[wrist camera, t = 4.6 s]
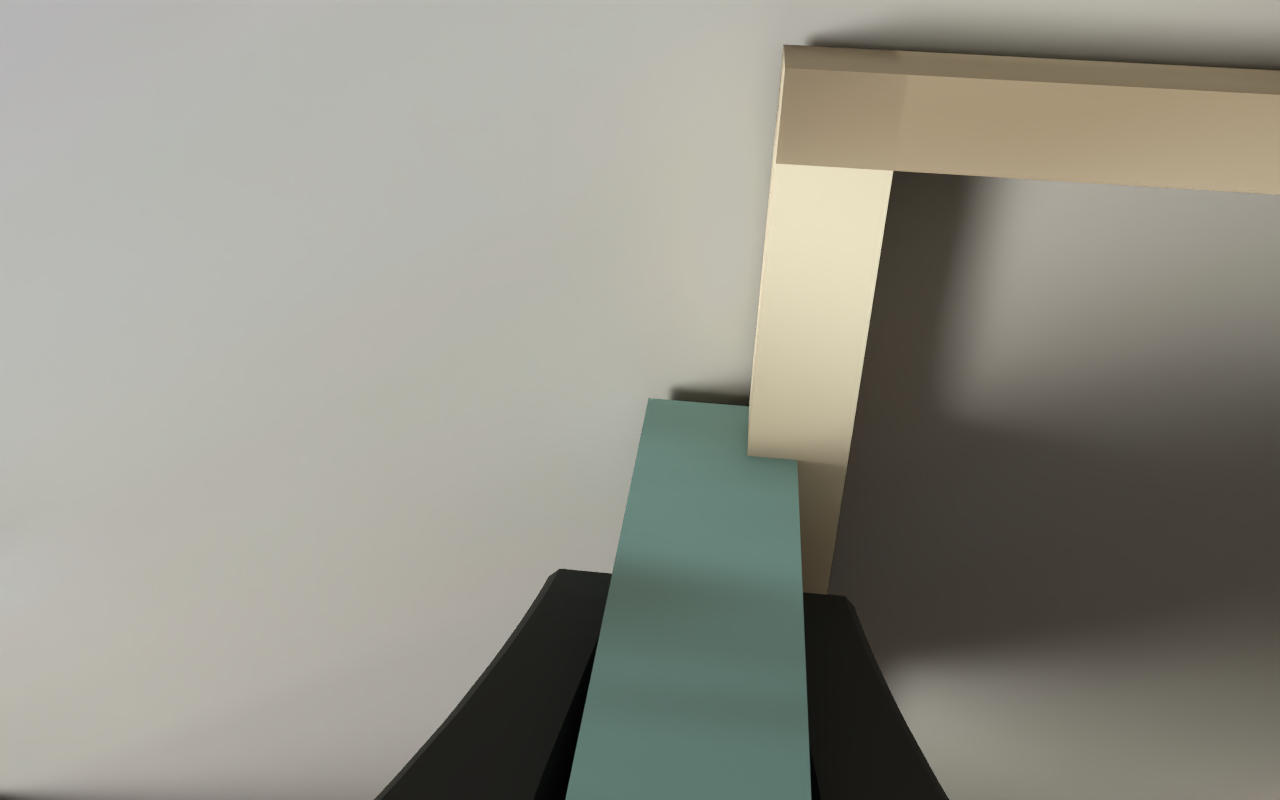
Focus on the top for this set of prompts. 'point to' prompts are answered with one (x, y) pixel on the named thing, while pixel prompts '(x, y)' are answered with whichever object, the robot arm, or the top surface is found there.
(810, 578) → the frame
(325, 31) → the top surface
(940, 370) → the top surface
